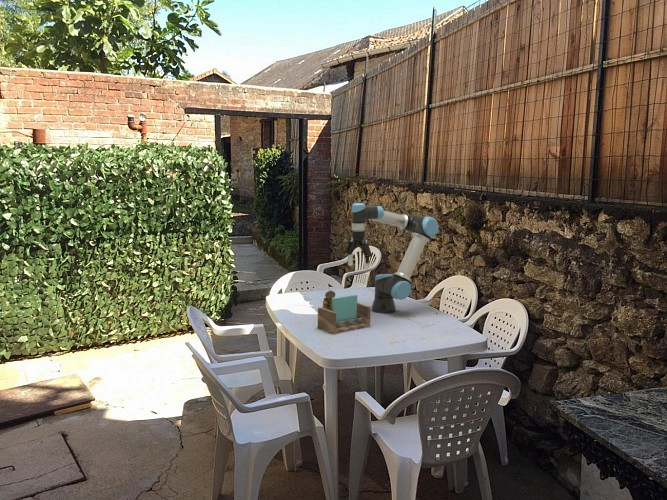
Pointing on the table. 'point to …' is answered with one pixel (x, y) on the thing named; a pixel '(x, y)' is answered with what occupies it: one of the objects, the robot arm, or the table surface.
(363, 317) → the wooden rack
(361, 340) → the table surface
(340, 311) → the door panel
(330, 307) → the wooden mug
